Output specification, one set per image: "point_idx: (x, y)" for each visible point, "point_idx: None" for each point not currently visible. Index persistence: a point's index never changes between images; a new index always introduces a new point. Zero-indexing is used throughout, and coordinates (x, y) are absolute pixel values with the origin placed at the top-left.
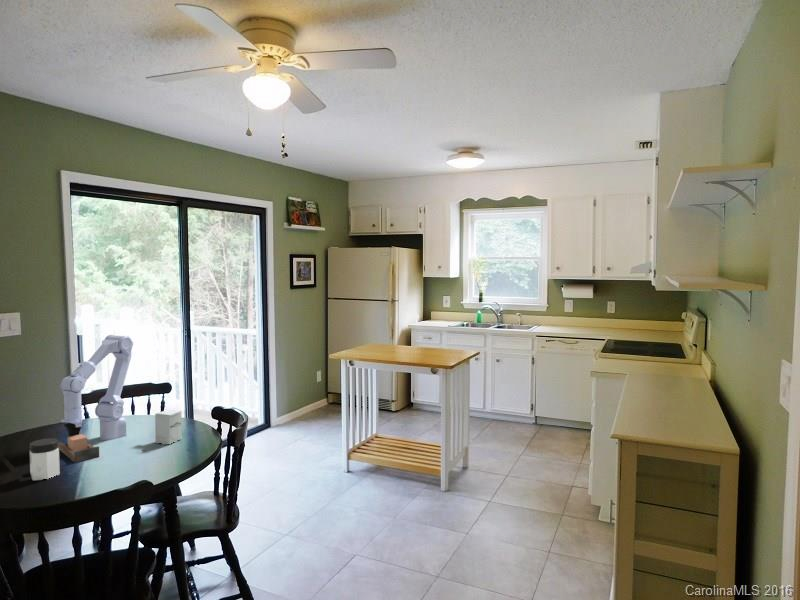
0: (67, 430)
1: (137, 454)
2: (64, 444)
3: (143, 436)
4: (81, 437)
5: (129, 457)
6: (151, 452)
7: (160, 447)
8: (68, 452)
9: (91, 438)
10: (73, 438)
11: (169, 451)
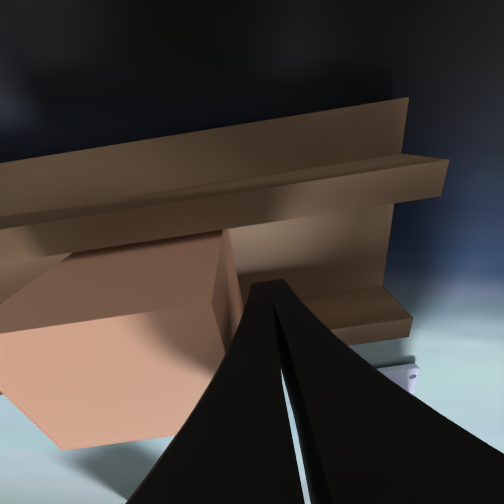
0: (327, 396)
1: (57, 447)
2: (303, 216)
3: (299, 469)
4: (81, 418)
5: (22, 428)
6: (66, 473)
7: (119, 490)
8: (33, 221)
9: (465, 345)
10: (70, 356)
11: (55, 500)
